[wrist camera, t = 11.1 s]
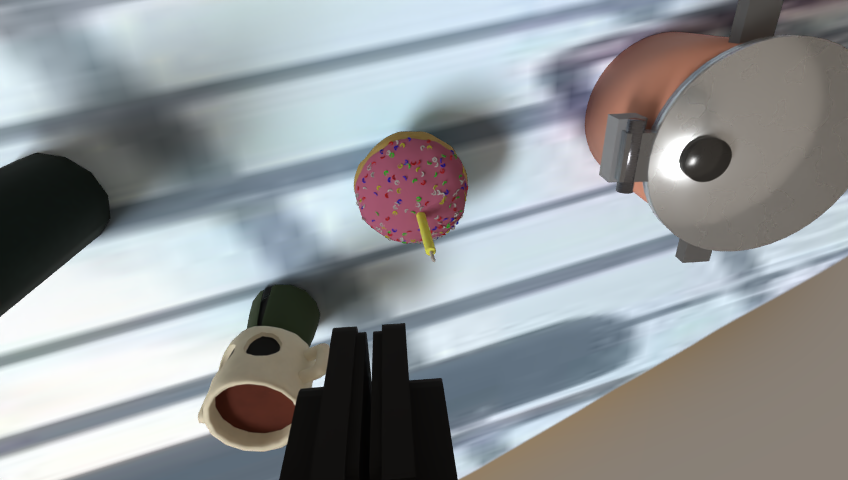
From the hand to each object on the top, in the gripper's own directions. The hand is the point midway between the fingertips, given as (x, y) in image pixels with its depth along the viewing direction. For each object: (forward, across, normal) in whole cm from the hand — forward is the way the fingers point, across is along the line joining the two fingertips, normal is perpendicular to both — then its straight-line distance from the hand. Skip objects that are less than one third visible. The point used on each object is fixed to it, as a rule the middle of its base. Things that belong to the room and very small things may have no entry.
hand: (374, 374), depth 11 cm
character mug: (+29, +10, +18) cm, 36 cm away
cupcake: (+29, -2, +5) cm, 30 cm away
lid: (+18, -22, +1) cm, 28 cm away
